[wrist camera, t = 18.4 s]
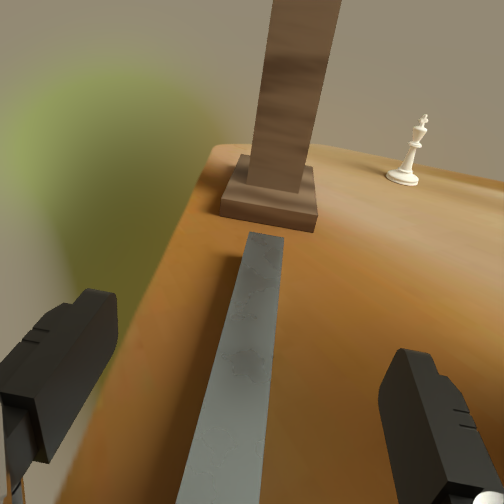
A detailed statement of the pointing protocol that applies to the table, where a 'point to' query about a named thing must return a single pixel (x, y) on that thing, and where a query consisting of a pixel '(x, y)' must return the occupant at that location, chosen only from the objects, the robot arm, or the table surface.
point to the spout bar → (238, 387)
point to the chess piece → (409, 158)
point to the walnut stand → (285, 119)
